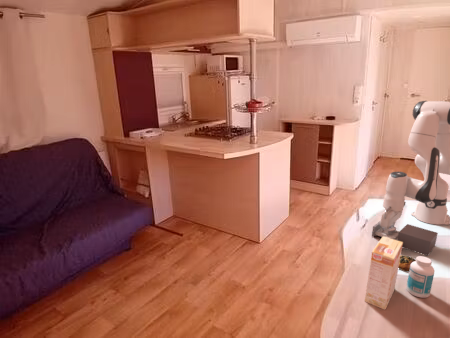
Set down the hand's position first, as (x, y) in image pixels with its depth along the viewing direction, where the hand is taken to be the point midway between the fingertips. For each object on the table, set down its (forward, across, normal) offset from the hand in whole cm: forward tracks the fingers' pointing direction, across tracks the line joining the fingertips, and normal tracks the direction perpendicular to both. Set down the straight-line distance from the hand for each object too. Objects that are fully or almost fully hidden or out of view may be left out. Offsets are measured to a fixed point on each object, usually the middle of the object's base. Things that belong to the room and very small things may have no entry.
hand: (389, 230), depth 156 cm
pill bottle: (+4, -39, -23) cm, 45 cm away
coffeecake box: (+4, -51, -14) cm, 53 cm away
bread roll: (+4, -22, -15) cm, 27 cm away
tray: (+3, 0, -1) cm, 3 cm away
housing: (+4, 0, -12) cm, 13 cm away
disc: (0, 0, 0) cm, 0 cm away
